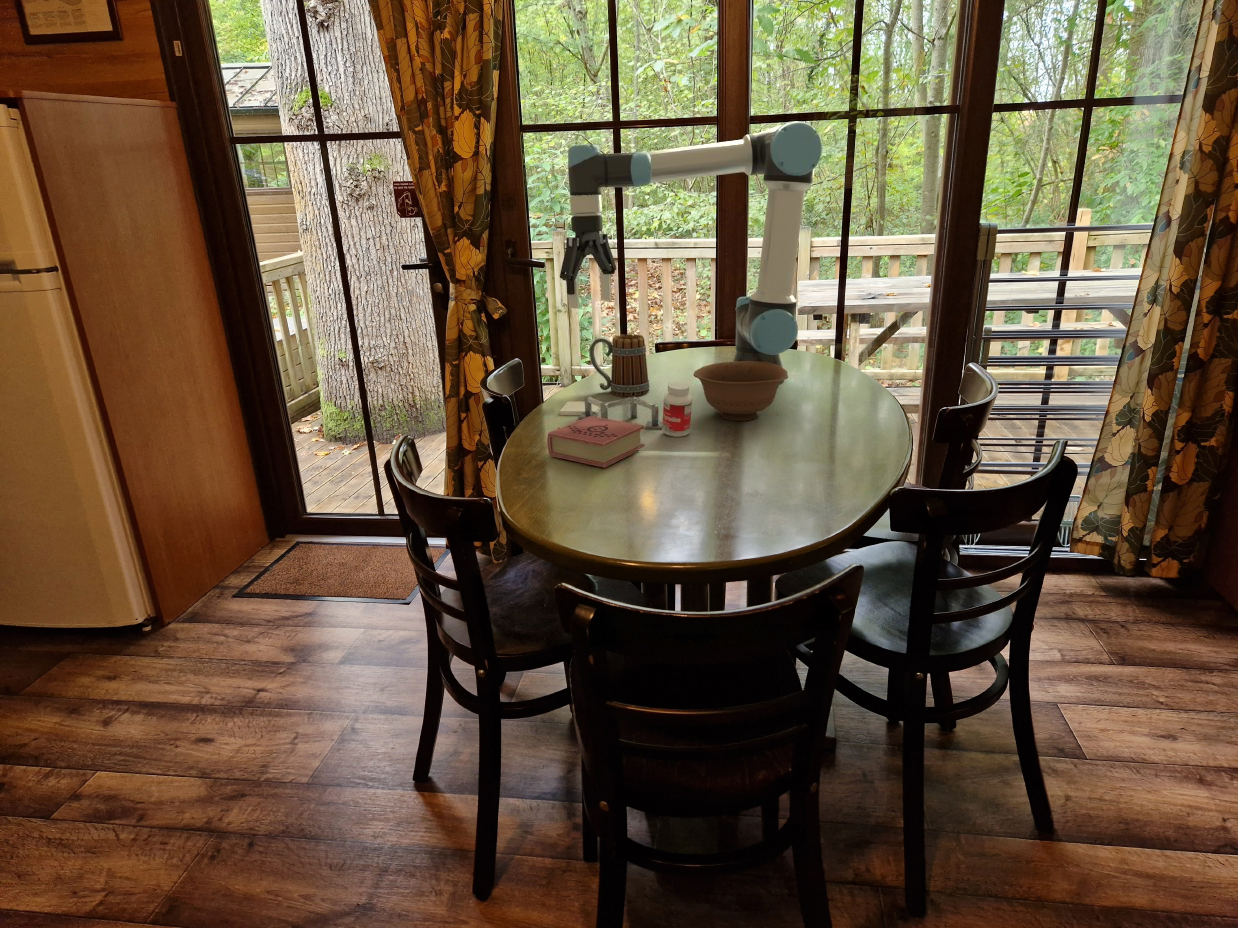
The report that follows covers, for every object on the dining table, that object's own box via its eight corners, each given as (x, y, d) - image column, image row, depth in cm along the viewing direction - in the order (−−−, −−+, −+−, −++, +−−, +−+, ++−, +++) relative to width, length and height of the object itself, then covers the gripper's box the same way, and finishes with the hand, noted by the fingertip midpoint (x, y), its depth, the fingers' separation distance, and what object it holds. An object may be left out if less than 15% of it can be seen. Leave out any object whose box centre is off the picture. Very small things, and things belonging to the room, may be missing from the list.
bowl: (804, 412, 187) (806, 367, 183) (752, 435, 172) (753, 386, 168) (728, 398, 201) (729, 356, 198) (674, 418, 186) (673, 373, 183)
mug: (650, 387, 215) (649, 333, 210) (648, 397, 206) (647, 340, 201) (594, 388, 217) (592, 334, 212) (589, 397, 207) (586, 341, 202)
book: (588, 436, 176) (587, 415, 174) (644, 447, 167) (644, 425, 166) (546, 454, 165) (544, 432, 163) (604, 467, 157) (603, 443, 155)
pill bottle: (656, 432, 174) (658, 385, 170) (673, 424, 179) (675, 378, 174) (678, 440, 171) (681, 392, 166) (695, 432, 175) (698, 385, 170)
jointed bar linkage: (667, 415, 188) (667, 395, 187) (663, 429, 178) (662, 407, 177) (582, 414, 192) (581, 394, 190) (572, 427, 182) (571, 407, 180)
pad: (602, 405, 199) (602, 401, 199) (596, 415, 191) (595, 411, 190) (568, 405, 201) (567, 401, 200) (559, 415, 192) (559, 411, 192)
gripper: (603, 212, 200) (607, 297, 207) (541, 217, 180) (547, 310, 187) (628, 212, 196) (630, 298, 203) (566, 217, 176) (572, 312, 183)
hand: (590, 304), depth 195 cm, fingers open, 13 cm apart
